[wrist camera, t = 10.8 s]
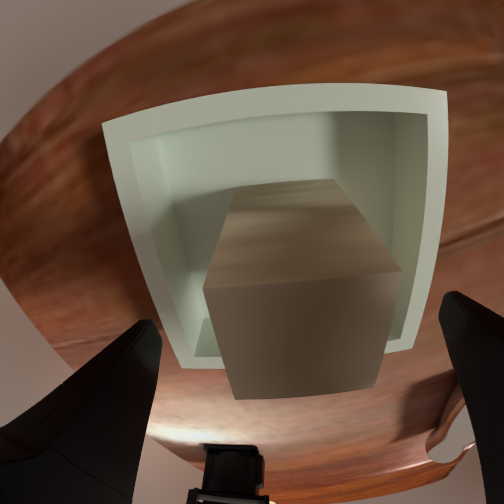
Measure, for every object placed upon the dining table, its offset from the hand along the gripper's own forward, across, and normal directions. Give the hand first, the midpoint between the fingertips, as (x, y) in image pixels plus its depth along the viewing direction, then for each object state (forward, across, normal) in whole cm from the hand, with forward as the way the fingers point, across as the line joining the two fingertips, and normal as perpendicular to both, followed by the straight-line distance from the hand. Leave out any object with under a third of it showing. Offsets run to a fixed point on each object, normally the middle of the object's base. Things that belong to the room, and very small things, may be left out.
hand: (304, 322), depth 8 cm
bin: (+8, 0, 0) cm, 8 cm away
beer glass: (+5, -20, +31) cm, 37 cm away
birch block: (+7, 0, 0) cm, 7 cm away
